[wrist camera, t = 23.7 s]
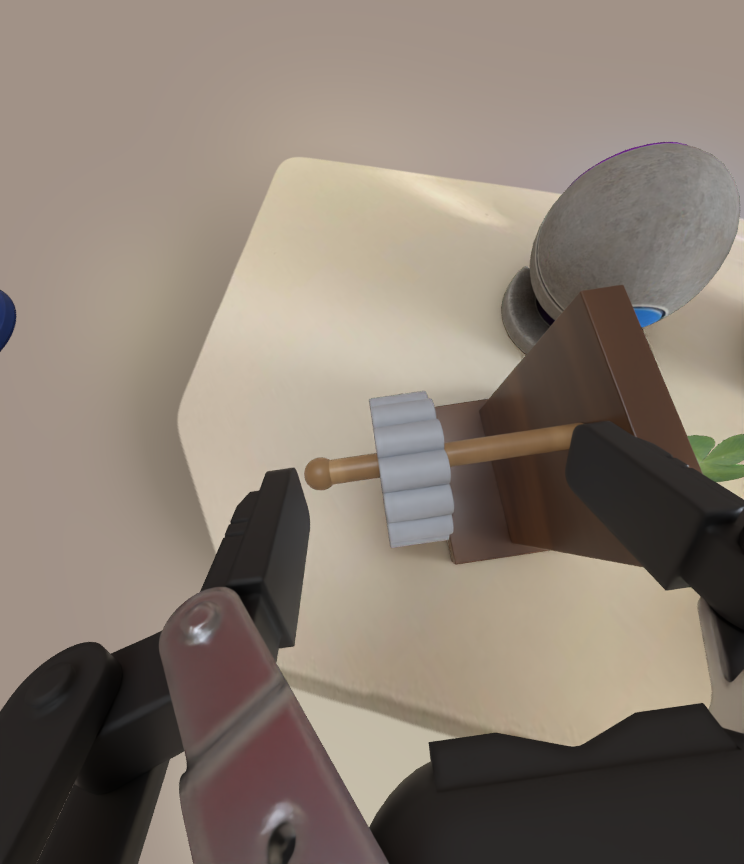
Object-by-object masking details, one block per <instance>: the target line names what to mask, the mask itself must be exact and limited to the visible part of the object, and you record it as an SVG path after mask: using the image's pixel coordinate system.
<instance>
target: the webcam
mask: <svg viewBox="0 0 744 864" xmlns="http://www.w3.org/2000/svg"><path fill="white" fill-rule="evenodd" d="M739 217H740V196H739V193H738V189H737V185H736V182H735V180H734V178H733V177H732V175H731V174H730V172H729V171H728V169H727V168H726V166H725V165H724V164H723V163H722V162H721V161H720V160H719V159H717V158H716V157H715V156H713V155H712V154H710V153H708V152H706V151H703V150H701V149H698V148H696V147H691V146H688V145H686V144H681V143H677V142H660V143H653V144H647V145H643V146H639V147H635V148H631V149H629V150H625V151H623V152H620V153H618V154H615V155H614V156H611V157H609V158H607V159H605V160H603V161H601V162H600V163H598V164H596V165H595V166H593V167H592V168H590V169H588V170H587V171H586V172H585V173H583V174H582V175H580V176H579V177H578V178H577V179H576V180H575V181H574V182H573V183H572V184H571V185H570V186H569V187H568V188H567V190H566V191H565V192H564V193H563V194H562V195H561V196H560V197H559V198H558V200H557V201H556V202H555V203H554V204H553V206H552V207H551V209H550V210H549V212H548V213H547V215H546V216H545V218H544V220H543V222H542V224H541V226H540V228H539V230H538V233H537V235H536V238H535V240H534V243H533V248H532V252H531V259H530V268H528V267H526V266H525V267H523V268H522V269H521V270H520V271H519V272H518V273H517V274H516V275H515V277H514V278H513V279H512V281H511V282H510V284H509V286H508V288H507V290H506V292H505V294H504V297H503V301H502V318H503V322H504V326H505V328H506V330H507V333H508V334H509V336H510V338H511V339H512V340H513V342H514V343H515V344H516V345H517V346H518V347H519V348H520V349H521V350H522V351H523V352H524V353H526V354H527V353H528V352H529V351H530V350H531V349H532V347H533V346H534V345H535V344H536V343H537V342H538V340H539V339H540V338H541V337H542V336H543V334H544V333H545V332H546V331H547V330H548V329H549V327H550V326H551V325H552V324H553V323H554V322H555V320H556V319H557V318H558V317H559V316H560V314H561V313H562V312H563V311H564V310H565V309H566V307H567V306H568V305H569V304H570V303H571V301H572V300H573V299H574V298H575V297H576V296H577V294H578V293H579V292H580V291H583V290H590V289H596V288H603V287H610V286H616V285H624V287H625V289H626V292H627V294H628V296H629V299H630V301H631V303H632V306H633V308H634V311H635V313H636V315H637V318H638V320H639V323H640V325H641V327H645V326H648V325H650V324H653V323H655V322H657V321H659V320H661V319H663V318H665V317H667V316H668V315H670V314H672V313H673V312H675V311H676V310H678V309H679V308H681V307H682V306H684V305H685V304H686V303H688V302H689V301H690V300H691V299H693V298H694V297H695V296H696V295H697V294H698V293H699V292H700V291H701V290H702V289H703V288H704V287H705V286H706V285H707V284H708V283H709V281H710V280H711V279H712V278H713V276H714V275H715V274H716V273H717V271H718V270H719V269H720V267H721V265H722V264H723V262H724V260H725V259H726V257H727V255H728V254H729V252H730V249H731V247H732V244H733V241H734V239H735V236H736V234H737V230H738V224H739Z"/></svg>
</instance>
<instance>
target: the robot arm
mask: <svg viewBox="0 0 744 864" xmlns="http://www.w3.org/2000/svg"><path fill="white" fill-rule="evenodd" d="M565 477H566V481H567V483H568V485H569V487H570V489H571V490H572V491H573V492H574V493H575V495H576V496H577V497H578V498H579V499H580V500H581V501H582V502H583V503H584V504H585V505H586V506H587V507H588V508H589V509H590V510H591V512H592V513H593V514H594V515H595V516H596V517H597V518H598V519H599V520H600V521H601V522H602V523H603V524H604V525H605V526H606V527H607V529H608V530H609V531H610V532H611V533H612V534H613V535H614V536H615V537H616V538H617V539H618V540H619V541H620V542H621V543H622V545H623V546H624V547H625V548H626V549H627V550H628V551H629V552H630V553H631V554H632V555H633V556H634V557H635V558H636V559H637V560H638V562H639V563H640V564H641V565H642V566H643V567H644V568H645V569H646V570H647V571H648V572H649V573H650V574H651V575H652V576H653V577H654V579H655V580H656V581H657V582H658V583H659V584H660V585H661V586H662V587H663V588H664V589H665V590H673V589H680V588H687V587H692V588H693V589H694V590H695V591H696V592H697V593H698V594H699V595H700V596H701V597H700V599H699V600H698V604H697V606H698V613H699V619H700V625H701V630H702V636H703V642H704V647H705V653H706V659H707V664H708V670H709V676H710V681H711V690H712V694H711V703H710V706H709V710H708V709H707V707H706V706H705V705H704V704H703V703H699V704H692V705H685V706H678V707H672V708H665V709H658V710H651V711H644V712H637V713H634V714H632V715H631V716H629V717H627V718H626V719H624V720H622V721H621V722H619V723H618V724H616V725H614V726H613V727H611V728H609V729H608V730H606V731H604V732H603V733H601V734H599V735H598V736H596V737H594V738H593V739H591V740H589V741H588V742H586V743H585V744H583V745H580V746H575V747H571V746H564V745H559V744H554V743H548V742H543V741H538V740H532V739H527V738H522V737H516V736H511V735H506V734H500V733H490V734H483V735H476V736H469V737H462V738H455V739H448V740H442V741H434V742H429V750H430V759H431V762H429V763H427V764H425V765H423V766H422V767H420V768H418V769H416V770H415V771H414V772H413V773H412V774H410V775H409V776H408V777H407V778H405V779H404V780H403V781H402V782H401V783H400V784H399V785H398V787H397V788H396V789H395V790H394V791H393V792H392V793H391V794H390V795H389V797H388V798H387V799H386V801H385V802H384V804H383V805H382V807H381V808H380V810H379V811H378V812H377V814H376V816H375V818H374V819H373V821H372V823H371V825H370V827H368V825H367V824H366V822H365V820H364V818H363V816H362V815H361V813H360V811H359V809H358V807H357V806H356V804H355V802H354V800H353V798H352V797H351V795H350V793H349V791H348V790H347V788H346V786H345V784H344V783H343V781H342V779H341V777H340V775H339V773H338V772H337V770H336V768H335V766H334V764H333V763H332V761H331V759H330V757H329V756H328V754H327V752H326V750H325V748H324V747H323V745H322V743H321V741H320V740H319V738H318V736H317V734H316V732H315V731H314V729H313V727H312V725H311V724H310V722H309V720H308V718H307V716H306V715H305V713H304V711H303V709H302V707H301V706H300V704H299V702H298V700H297V699H296V697H295V695H294V693H293V691H292V690H291V688H290V686H289V684H288V683H287V681H286V680H285V678H284V676H283V674H282V672H281V671H280V669H279V667H278V665H277V664H276V661H277V655H278V650H279V648H286V647H293V646H294V645H295V637H296V630H297V622H298V615H299V607H300V600H301V592H302V585H303V577H304V570H305V562H306V555H307V547H308V540H309V532H310V516H309V510H308V506H307V503H306V500H305V497H304V493H303V490H302V487H301V483H300V480H299V477H298V474H297V471H296V469H295V468H288V469H281V470H274V471H268V472H267V473H266V474H265V477H264V479H263V482H262V485H261V488H260V490H259V491H254V492H250V493H249V494H248V495H247V496H246V497H245V498H244V499H243V500H242V501H241V502H240V503H239V505H238V506H237V507H236V510H235V512H234V514H233V517H232V519H231V521H230V522H231V524H230V525H229V526H228V528H227V531H226V533H225V538H223V540H222V542H221V545H220V547H219V549H218V552H217V554H216V556H215V559H214V561H213V564H212V565H211V568H210V570H209V572H208V575H207V577H206V579H205V582H204V584H203V586H202V589H201V591H200V592H199V593H197V594H196V595H194V596H192V597H191V598H189V599H188V600H187V601H185V602H184V603H183V604H182V605H181V606H180V607H179V608H178V609H177V610H176V611H175V612H174V613H173V614H172V615H171V617H170V618H169V620H168V621H167V623H166V624H165V626H164V628H163V630H162V631H160V632H158V633H156V634H154V635H152V636H150V637H148V638H145V639H143V640H141V641H139V642H136V643H134V644H132V645H129V646H127V647H125V648H123V649H120V650H118V651H116V652H114V653H111V654H110V653H109V652H108V651H107V650H106V649H105V648H104V647H103V646H101V645H100V644H99V643H96V642H85V643H80V644H77V645H74V646H72V647H69V648H67V649H65V650H63V651H62V652H59V653H58V654H56V655H55V656H53V657H51V658H50V659H49V660H47V661H46V662H45V663H43V664H42V665H41V666H39V667H38V668H37V669H36V670H35V671H34V672H33V673H31V674H30V675H29V676H28V677H27V678H26V679H25V680H24V681H23V683H22V684H21V685H20V686H19V687H18V688H17V689H16V691H15V692H14V693H13V694H12V696H11V697H10V698H9V700H8V701H7V703H6V704H5V705H4V707H3V709H2V710H1V711H0V864H138V861H139V858H140V855H141V852H142V849H143V845H144V842H145V839H146V836H147V832H148V829H149V826H150V823H151V819H152V816H153V813H154V809H155V806H156V803H157V799H158V796H159V793H160V790H161V786H162V783H163V780H164V777H165V774H166V770H167V767H168V763H169V760H170V759H171V758H173V757H175V756H176V755H178V754H180V753H182V752H184V751H185V756H186V760H187V769H186V772H185V773H183V774H182V776H181V778H180V783H179V794H180V803H181V809H182V814H183V818H184V823H185V828H186V832H187V837H188V841H189V846H190V851H191V855H192V860H193V864H744V500H743V499H742V498H740V497H738V496H737V495H735V494H734V493H732V492H731V491H729V490H727V489H726V488H724V487H723V486H721V485H719V484H718V483H716V482H715V481H713V480H711V479H710V478H708V477H707V476H705V475H703V474H702V473H700V472H699V471H697V470H695V469H694V468H689V467H688V465H687V464H686V463H684V462H683V461H681V460H679V459H678V458H673V455H671V454H670V453H668V452H667V451H665V450H663V449H662V448H660V447H659V446H657V445H655V444H654V443H651V442H648V441H646V440H643V439H640V438H638V437H635V436H633V435H631V434H630V433H628V432H627V431H625V430H624V429H622V428H620V427H619V426H617V425H616V424H614V423H613V422H611V421H600V422H594V423H587V424H580V425H577V426H576V427H575V428H574V430H573V433H572V438H571V443H570V448H569V453H568V457H567V462H566V467H565ZM70 791H71V792H70ZM69 793H70V794H69ZM68 795H69V796H68ZM67 797H68V798H67ZM66 799H67V800H66ZM61 810H62V811H61ZM60 812H61V813H60ZM59 814H60V815H59ZM58 816H59V817H58ZM57 818H58V819H57ZM52 829H53V830H52ZM51 831H52V832H51ZM50 833H51V834H50ZM49 835H50V836H49ZM48 837H49V838H48ZM44 846H45V847H44ZM43 848H44V849H43ZM42 850H43V851H42ZM41 852H42V853H41ZM40 854H41V855H40Z"/></svg>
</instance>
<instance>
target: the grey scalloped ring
mask: <svg viewBox="0 0 744 864" xmlns="http://www.w3.org/2000/svg"><path fill="white" fill-rule="evenodd" d="M369 403H370V410H371V417H372V424H373V431H374V438H375V445H376V452H377V457H378V464H379V471H380V479H381V486H382V493H383V500H384V507H385V514H386V520H387V527H388V534H389V541H390V547H391V548H394V547H401V546H408V545H415V544H422V543H429V542H436V541H443V540H448V539H449V534H452V533H453V519H452V513H453V512H454V499H453V494H452V490H451V486H450V484H449V483H450V480H451V470H450V464H449V460H448V456H447V454H446V452H445V450H444V435H443V430H442V426H441V423H440V421H439V420H438V419H436V411H435V406H434V403H433V401H432V399H430V398H428V396H427V393H426V392H425V391H419V392H412V393H405V394H398V395H391V396H385V397H378V398H371V399H369Z"/></svg>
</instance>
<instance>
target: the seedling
mask: <svg viewBox="0 0 744 864" xmlns="http://www.w3.org/2000/svg"><path fill="white" fill-rule="evenodd" d="M687 437H688V439H689V442H690V444H691V446H692V449H693V451H694V454H695V456H696V458H697V461H698V463H699V466H700V468H701V470H702V473H703V475H705V476H707V477H708V478H710V479H711V480H713V481H715V482H722V481H729V480H734V479H738V478H742V477H744V465H742V464H741V465H737V463H740V462H741V461H743V460H744V434H740V435H735V436H732V437H729V438H728V439H726V440H723V441H722V442H721V443H720V444H718V446H717V447H716V448H715V449H713V450H712V452H711V453H710V454H709V452H710V451H711V449H712V448H713V447H714V446H715V441H714V439H712V438H710V437H707V436H698V435H693V436H687ZM708 454H709V455H708ZM707 455H708V456H707ZM706 456H707V457H706Z"/></svg>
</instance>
